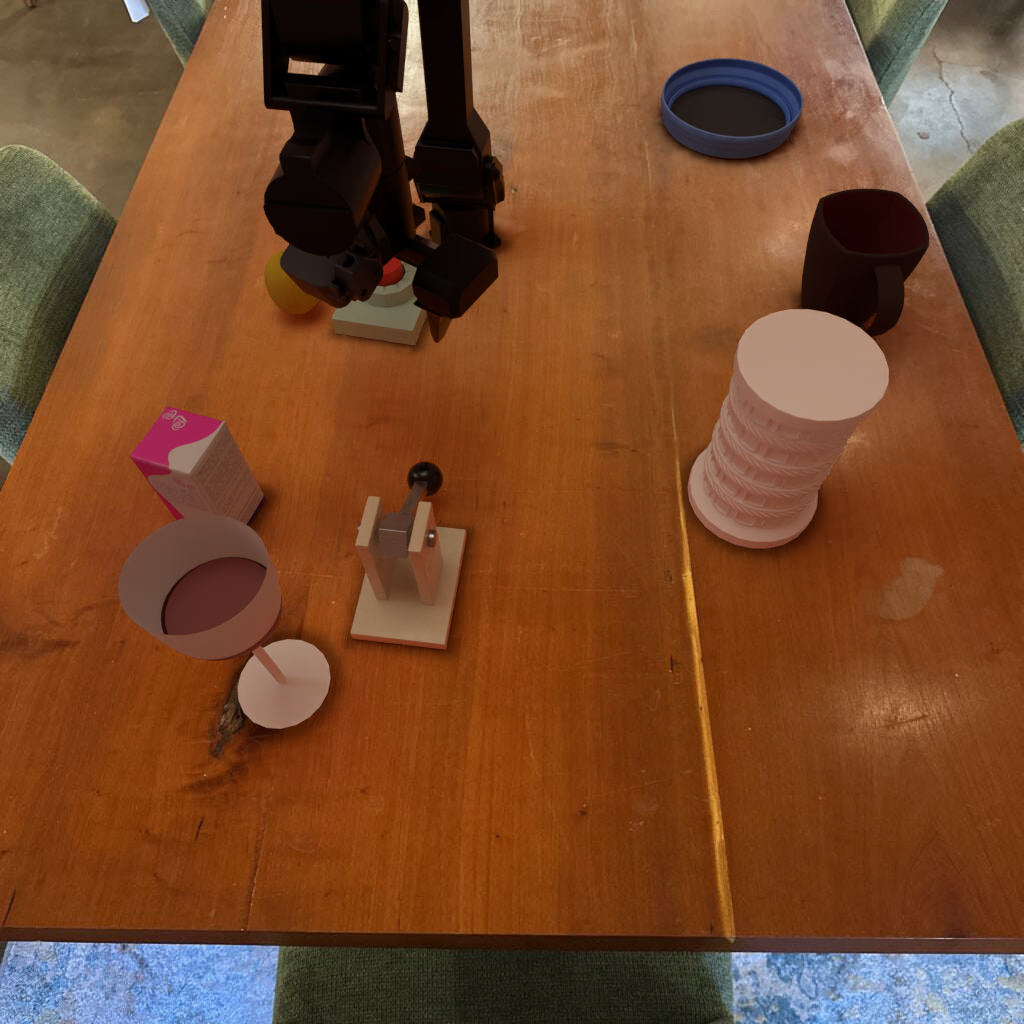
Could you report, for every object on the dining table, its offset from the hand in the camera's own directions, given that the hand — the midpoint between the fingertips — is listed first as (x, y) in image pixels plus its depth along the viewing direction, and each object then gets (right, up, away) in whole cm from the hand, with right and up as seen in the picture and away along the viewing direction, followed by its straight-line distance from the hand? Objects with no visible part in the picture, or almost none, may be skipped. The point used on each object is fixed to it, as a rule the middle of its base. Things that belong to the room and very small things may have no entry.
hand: (397, 318), depth 67 cm
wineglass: (-9, -31, -5) cm, 33 cm away
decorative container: (+32, -15, +4) cm, 36 cm away
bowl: (+39, +35, +34) cm, 62 cm away
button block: (-3, +7, +18) cm, 19 cm away
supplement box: (-17, -17, +4) cm, 24 cm away
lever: (+2, -18, -3) cm, 18 cm away
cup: (+45, +3, +15) cm, 47 cm away
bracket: (+1, -23, 0) cm, 24 cm away
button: (-3, +8, +15) cm, 17 cm away
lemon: (-13, +5, +17) cm, 22 cm away
